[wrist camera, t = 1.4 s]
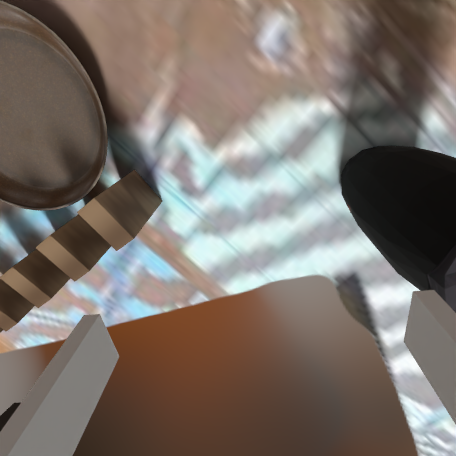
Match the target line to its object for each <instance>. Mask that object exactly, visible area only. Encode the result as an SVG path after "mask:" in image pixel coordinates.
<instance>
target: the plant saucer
mask: <svg viewBox="0 0 456 456" xmlns="http://www.w3.org/2000/svg"><path fill="white" fill-rule="evenodd" d="M107 146H108V136H107V126H106V121H105V115H104V112H103V108H102V105H101V102H100V99H99V96H98V94H97V91H96V89H95V87H94V85H93V83H92V81H91V79H90V77H89V75H88V74H87V72H86V70H85V69H84V67H83V66H82V64H81V63H80V61H79V60H78V59H77V57H76V56H75V55H74V53H73V52H72V51H71V50H70V49H69V47H68V46H67V45H66V44H65V43H64V42H63V41H62V40H61V39H60V38H59V37H58V36H57V35H56V34H55V33H54V32H53V31H52V30H51V29H50V28H48V27H47V26H46V25H45V24H43V23H42V22H41V21H39V20H38V19H37V18H35V17H34V16H32V15H31V14H29V13H27V12H26V11H24V10H22V9H20V8H18V7H16V6H14V5H11V4H9V3H7V2H4V1H1V0H0V201H2V202H5V203H7V204H10V205H13V206H16V207H20V208H24V209H31V210H55V209H60V208H63V207H67V206H69V205H72V204H74V203H76V202H78V201H79V200H81V199H82V198H83V197H85V196H86V195H87V194H88V193H89V192H90V191H91V190H92V188H93V187H94V186H95V184H96V183H97V181H98V180H99V178H100V176H101V174H102V171H103V168H104V165H105V161H106V156H107Z"/></svg>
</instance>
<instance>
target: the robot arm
mask: <svg viewBox="0 0 456 456" xmlns="http://www.w3.org/2000/svg"><path fill="white" fill-rule="evenodd" d="M404 343H405V344H406V346H407V348H408V349H409V351H410V352H411V354H412V355H413V357H414V359H415V360H416V362H417V363H418V365H419V367H420V368H421V370H422V371H423V373H424V375H425V376H426V378H427V379H428V381H429V383H430V384H431V386H432V387H433V389H434V391H435V392H436V394H437V395H438V397H439V399H440V400H441V402H442V403H443V405H444V407H445V408H446V410H447V411H448V413H449V414H450V416H451V418H452V419H453V421H454V422H455V424H456V313H455V312H454V311H453V310H452V309H451V307H450V306H449V305H448V304H447V303H446V302H445V301H444V300H443V299H442V298H441V297H440V296H439V295H438V294H437V293H436V291H435V290H426V291H413V294H412V300H411V305H410V310H409V316H408V321H407V326H406V332H405V337H404ZM118 358H119V355H118V353H117V351H116V348H115V347H114V344H113V342H112V340H111V338H110V335H109V333H108V331H107V329H106V327H105V325H104V322H103V320H102V318H101V316H100V314H96V315H84V316H83V317H82V319H81V320H80V321H79V323H78V324H77V326H76V327H75V328H74V330H73V331H72V333H71V334H70V335H69V337H68V338H67V340H66V341H65V342H64V344H63V345H62V347H61V348H60V349H59V351H58V352H57V353H56V355H55V356H54V358H53V359H52V360H51V362H50V364H49V365H48V366H47V367H46V369H45V370H44V372H43V373H42V374H41V376H40V377H39V379H38V380H37V381H36V383H35V384H34V386H33V387H32V388H31V390H30V391H29V393H28V394H27V395H26V397H25V398H24V400H23V401H22V402H21V403H14V404H13V405H12V406H11V407H10V408H8V409H7V410H6V411H5V412H4V413H3V414H2V415H1V416H0V456H72V455H73V453H74V451H75V449H76V447H77V445H78V443H79V440H80V438H81V436H82V434H83V432H84V430H85V428H86V426H87V423H88V421H89V419H90V417H91V415H92V413H93V411H94V409H95V407H96V405H97V402H98V400H99V398H100V396H101V394H102V392H103V390H104V388H105V385H106V384H107V381H108V379H109V377H110V375H111V373H112V371H113V369H114V366H115V364H116V362H117V360H118Z"/></svg>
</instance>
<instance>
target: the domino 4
mask: <svg viewBox="0 0 456 456" xmlns="http://www.w3.org/2000/svg"><path fill="white" fill-rule="evenodd" d="M161 202H162V200H161V199H160V198H159V197H158V196H157V194H156V193H155V192H154V191H153V190H152V189H151V188H150V186H149V185H148V184H147V183H146V182H145V181H144V180H143V179H142V177H141V176H140V175H139V174H138V173H137V172H136V171H135V170H133V171H132V172H131V173H129V174H128V175H126V176H125V177H123V178H122V179H121V180H119V181H118V182H116V183H115V184H113V185H112V186H111V187H109V188H108V189H106V190H105V191H103V192H102V193H100V194H99V195H98V196H96V197H95V198H93V199H92V200H91V201H90V202H89V203H88V204H86V205H85V206H84V207H83V208H82V209H80V210H79V211H78V212H77V213H78V214H79V215H80V216H81V217H82V218H83V219H84V220H85V221H86V222H87V223H88V224H89V225H90V226H91V227H92V228H94V229H95V230H96V231H97V232H98V233H99V234H100V235H101V236H102V237H103V238H104V239H105V240H106V241H107V242H108V243H109V244H110V245H111V246H112V247H113V248H114V249H115V250H116V251H117V250H119V249H120V248H122V247H123V246H124V245H126V244H127V243H128V242H130V241H131V240H133V239H134V238H135V236H136V235H137V234H138V232H139V231H140V230H141V229H142V227H143V226H144V225H145V223H146V222H147V221H148V219H149V218H150V217H151V216H152V214H153V213H154V212H155V210H156V209H157V208H158V206H159V205H160V204H161Z"/></svg>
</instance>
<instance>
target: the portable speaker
mask: <svg viewBox="0 0 456 456" xmlns="http://www.w3.org/2000/svg"><path fill="white" fill-rule="evenodd" d="M342 196H343V198H344V200H345V202H346V204H347V206H348V208H349V210H350V211H351V212H350V213H352V215H353V217H354V219H355V221H356V222H357V224H358V226H359V227H360V228H361V230H362V231H363V232H364V233H365V235H366V236H367V237H368V238H369V239H370V241H371V242H372V243H373V244H374V245H375V247H376V248H377V249H378V250H379V251H380V253H381V254H382V255H383V256H384V257H385V258H386V260H387V261H388V262H389V263H390V264H391V266H392V267H393V268H394V269H395V270H396V272H397V273H398V274H400V275H401V276H402V277H404V278H405V279H406V280H407V281H409V282H410V283H411V284H413V285H414V286H415V287H417V288H418V289H419V290H420V291H426V290H435V291H436V293H437V294H438V295H439V296H440V297H441V298H442V299H443V300H444V301H445V302H446V303H447V304H448V305H449V306H450V307H451V309H452V310H453V311H454V312H455V313H456V158H454V157H451V156H448V155H445V154H442V153H438V152H434V151H429V150H425V149H420V148H416V147H405V146H378V147H374V148H370V149H366V150H362V151H361V152H359V153H358V154H357V155H355V156H354V157H353V158H351V159H350V160H349V161H348V163H347V165H346V167H345V168H344V170H343V172H342Z"/></svg>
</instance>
